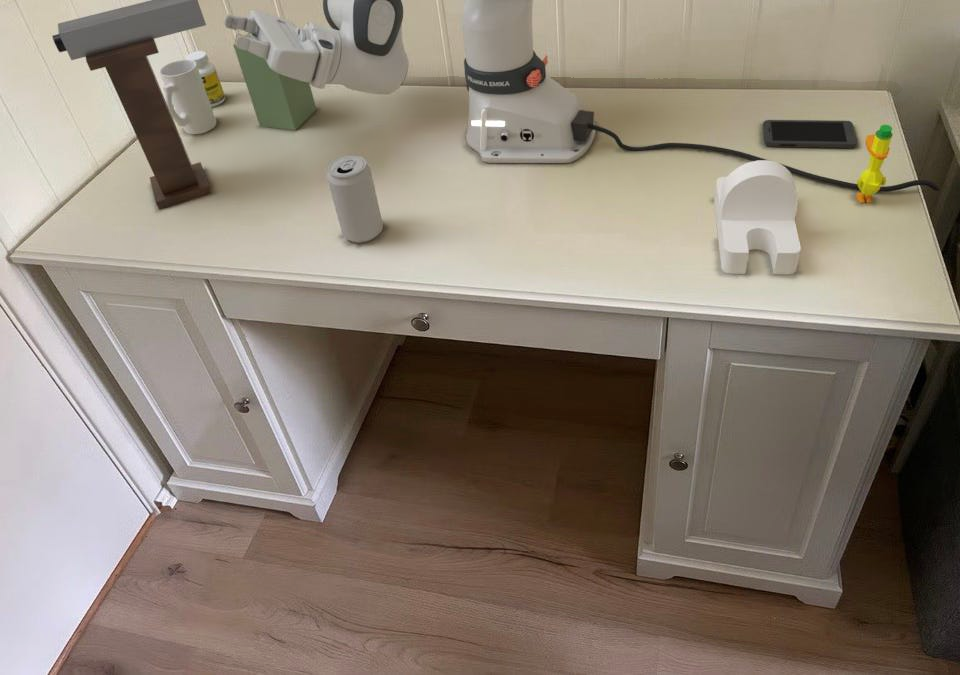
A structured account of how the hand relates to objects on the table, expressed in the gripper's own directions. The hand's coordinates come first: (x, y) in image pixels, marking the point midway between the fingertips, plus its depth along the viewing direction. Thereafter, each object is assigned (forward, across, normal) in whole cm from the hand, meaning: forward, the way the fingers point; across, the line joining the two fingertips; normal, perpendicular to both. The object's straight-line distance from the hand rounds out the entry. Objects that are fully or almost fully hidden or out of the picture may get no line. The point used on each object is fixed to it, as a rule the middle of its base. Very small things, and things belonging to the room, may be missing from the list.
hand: (230, 30), depth 123 cm
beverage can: (-19, +30, +17) cm, 39 cm away
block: (-17, -14, +17) cm, 28 cm away
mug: (-2, -20, +26) cm, 33 cm away
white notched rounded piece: (-61, +60, -7) cm, 86 cm away
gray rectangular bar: (+13, 0, +5) cm, 14 cm away
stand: (+2, 0, +29) cm, 29 cm away
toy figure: (-77, +61, -16) cm, 100 cm away
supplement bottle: (-7, -30, +23) cm, 39 cm away
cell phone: (-81, +44, -19) cm, 94 cm away
